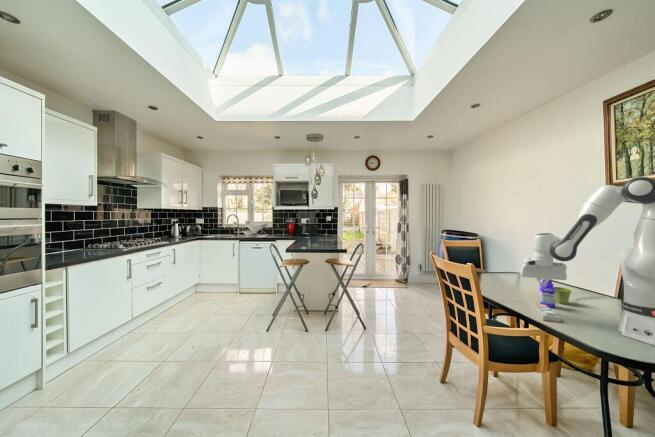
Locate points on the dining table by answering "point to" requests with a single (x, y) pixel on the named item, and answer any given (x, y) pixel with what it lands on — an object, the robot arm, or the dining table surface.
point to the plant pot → (562, 295)
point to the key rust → (541, 306)
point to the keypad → (546, 317)
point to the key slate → (545, 309)
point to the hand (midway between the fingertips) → (542, 286)
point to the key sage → (549, 313)
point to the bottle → (547, 294)
